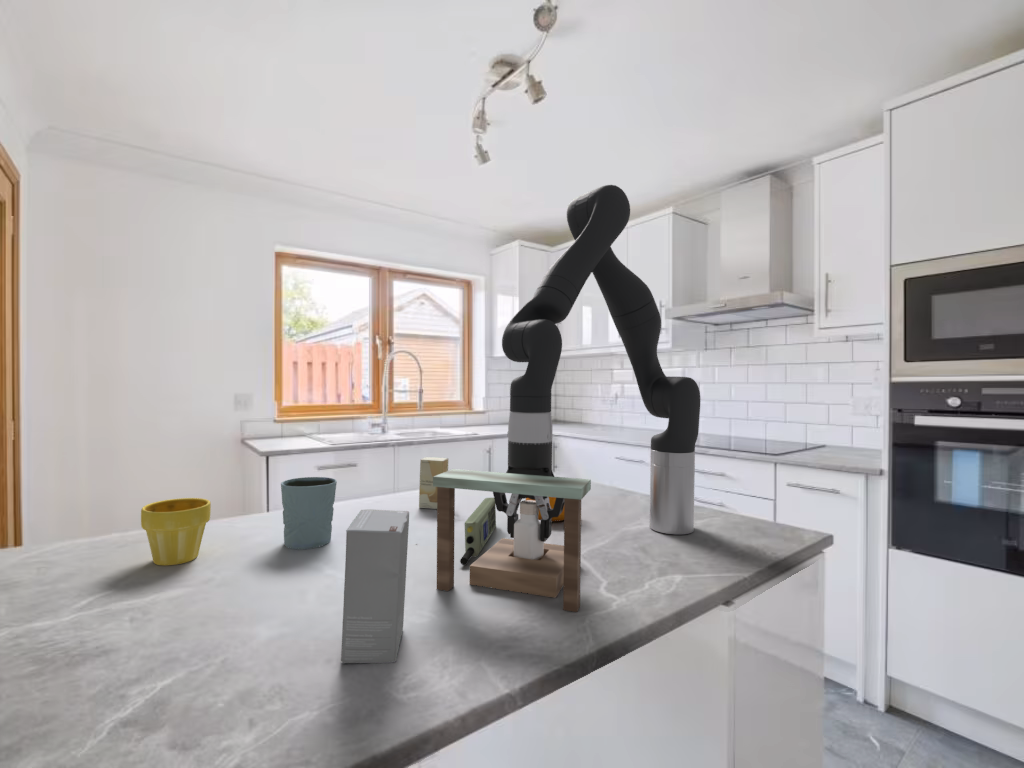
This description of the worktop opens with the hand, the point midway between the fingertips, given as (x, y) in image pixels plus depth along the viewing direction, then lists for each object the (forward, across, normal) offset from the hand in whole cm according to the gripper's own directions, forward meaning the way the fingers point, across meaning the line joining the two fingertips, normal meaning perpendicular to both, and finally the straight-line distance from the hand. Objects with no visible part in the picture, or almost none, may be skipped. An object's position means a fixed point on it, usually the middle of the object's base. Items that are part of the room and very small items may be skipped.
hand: (528, 538), depth 88 cm
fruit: (+6, +5, -33) cm, 34 cm away
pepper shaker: (+4, 0, 0) cm, 4 cm away
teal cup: (+6, +45, +1) cm, 45 cm away
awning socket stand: (+6, 0, +4) cm, 7 cm away
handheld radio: (+6, +13, -10) cm, 17 cm away
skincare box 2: (+6, +35, -32) cm, 48 cm away
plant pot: (+6, +60, +17) cm, 63 cm away
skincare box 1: (+6, +10, +30) cm, 32 cm away
